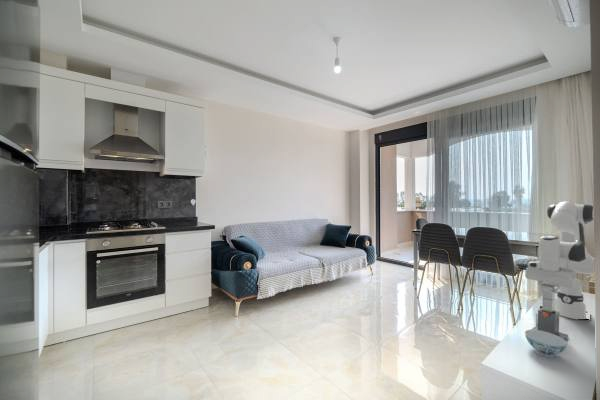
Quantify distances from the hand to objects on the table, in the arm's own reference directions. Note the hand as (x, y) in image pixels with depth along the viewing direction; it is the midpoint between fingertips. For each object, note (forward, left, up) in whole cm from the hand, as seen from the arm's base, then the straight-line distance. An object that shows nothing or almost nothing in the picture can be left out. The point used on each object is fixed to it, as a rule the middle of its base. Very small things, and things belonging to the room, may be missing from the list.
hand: (548, 291), depth 147 cm
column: (0, 0, -18) cm, 18 cm away
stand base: (0, 0, -25) cm, 25 cm away
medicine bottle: (-12, -4, -25) cm, 28 cm away
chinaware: (+23, +5, -25) cm, 34 cm away
